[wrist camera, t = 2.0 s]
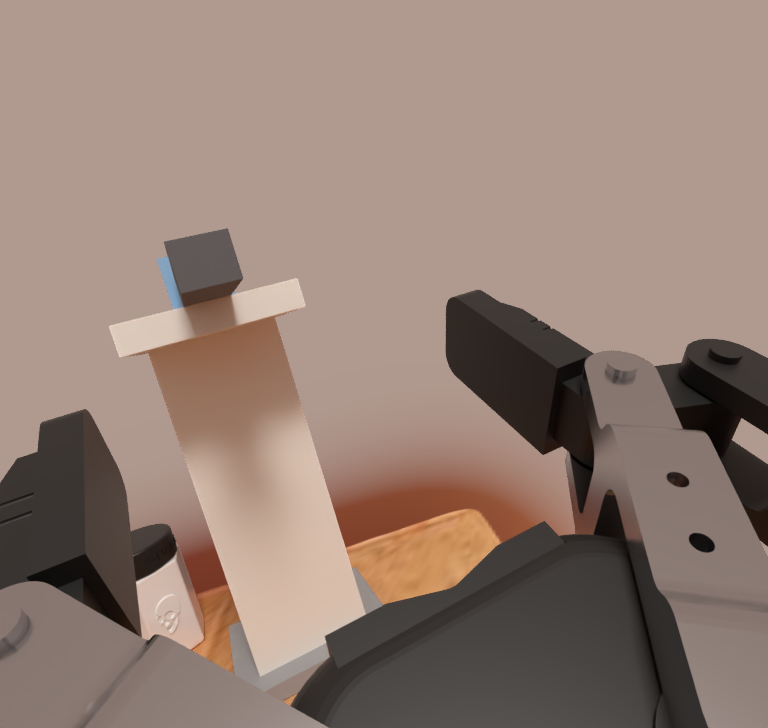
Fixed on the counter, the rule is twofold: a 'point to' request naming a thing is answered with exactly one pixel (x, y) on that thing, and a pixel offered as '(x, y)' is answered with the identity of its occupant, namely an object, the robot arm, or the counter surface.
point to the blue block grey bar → (200, 268)
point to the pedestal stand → (255, 478)
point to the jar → (165, 588)
